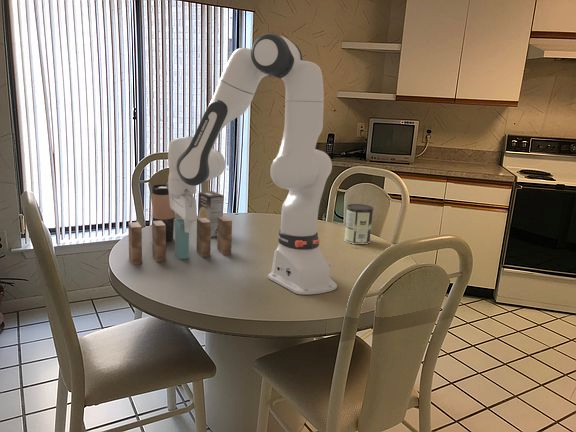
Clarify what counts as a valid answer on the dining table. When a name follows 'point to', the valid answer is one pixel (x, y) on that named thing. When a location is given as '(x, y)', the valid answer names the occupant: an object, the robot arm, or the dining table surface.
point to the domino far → (135, 242)
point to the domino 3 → (203, 237)
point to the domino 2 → (181, 240)
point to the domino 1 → (159, 240)
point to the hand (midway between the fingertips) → (183, 228)
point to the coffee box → (211, 208)
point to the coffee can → (358, 224)
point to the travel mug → (163, 209)
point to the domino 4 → (224, 235)
